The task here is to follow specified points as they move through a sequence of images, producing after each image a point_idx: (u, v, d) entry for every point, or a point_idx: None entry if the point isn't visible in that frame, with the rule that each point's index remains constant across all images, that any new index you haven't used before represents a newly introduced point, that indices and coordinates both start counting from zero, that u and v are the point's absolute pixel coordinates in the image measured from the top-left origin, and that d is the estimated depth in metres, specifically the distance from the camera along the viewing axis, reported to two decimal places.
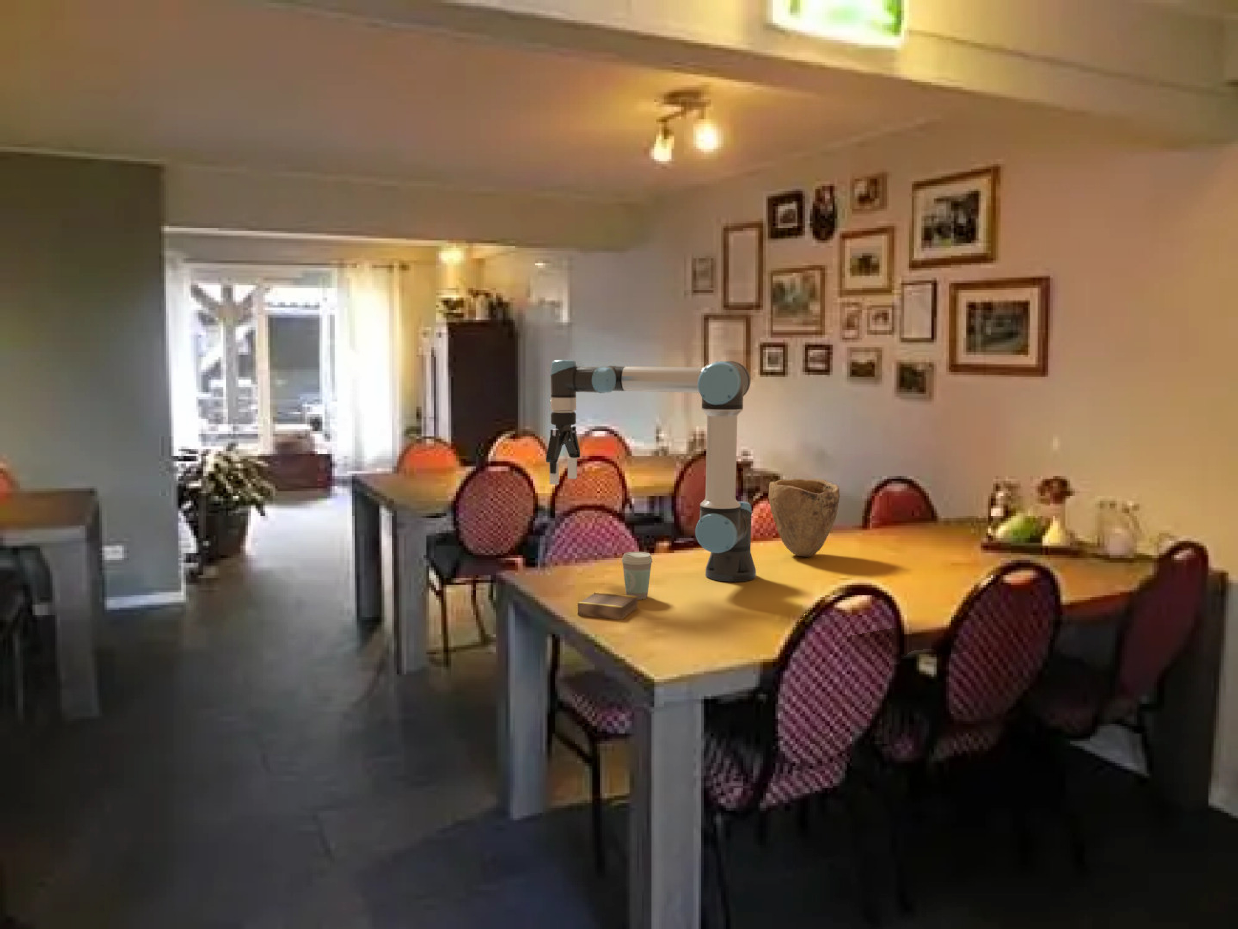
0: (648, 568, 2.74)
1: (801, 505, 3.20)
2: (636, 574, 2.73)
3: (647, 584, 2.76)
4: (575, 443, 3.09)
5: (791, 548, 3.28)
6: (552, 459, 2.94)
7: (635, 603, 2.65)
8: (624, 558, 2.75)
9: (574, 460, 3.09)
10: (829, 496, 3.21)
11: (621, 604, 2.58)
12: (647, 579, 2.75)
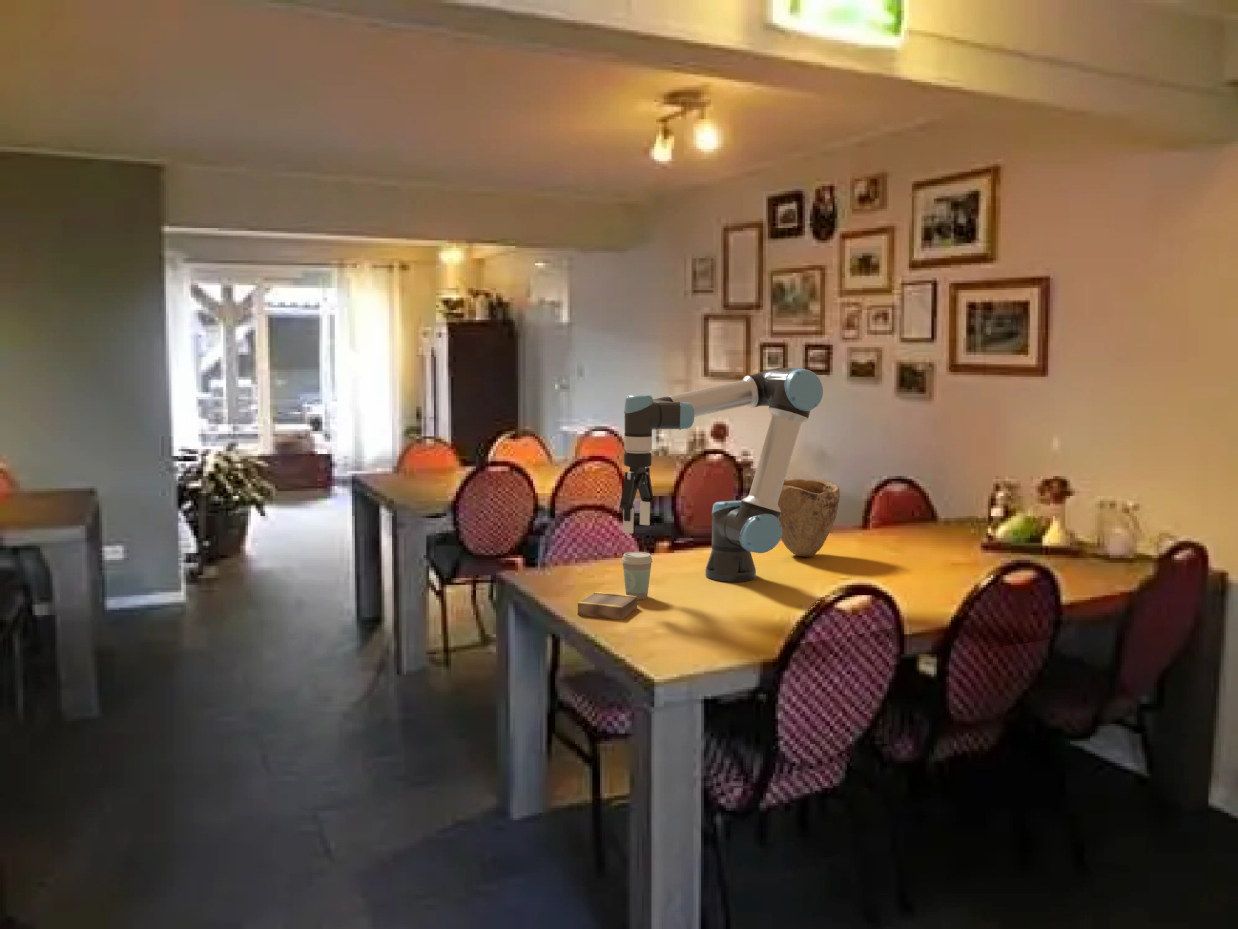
0: (648, 568, 2.74)
1: (801, 505, 3.20)
2: (636, 574, 2.73)
3: (647, 584, 2.76)
4: (648, 486, 2.81)
5: (791, 548, 3.28)
6: (627, 506, 2.65)
7: (635, 603, 2.65)
8: (624, 558, 2.75)
9: (647, 504, 2.80)
10: (829, 496, 3.21)
11: (621, 604, 2.58)
12: (647, 579, 2.75)
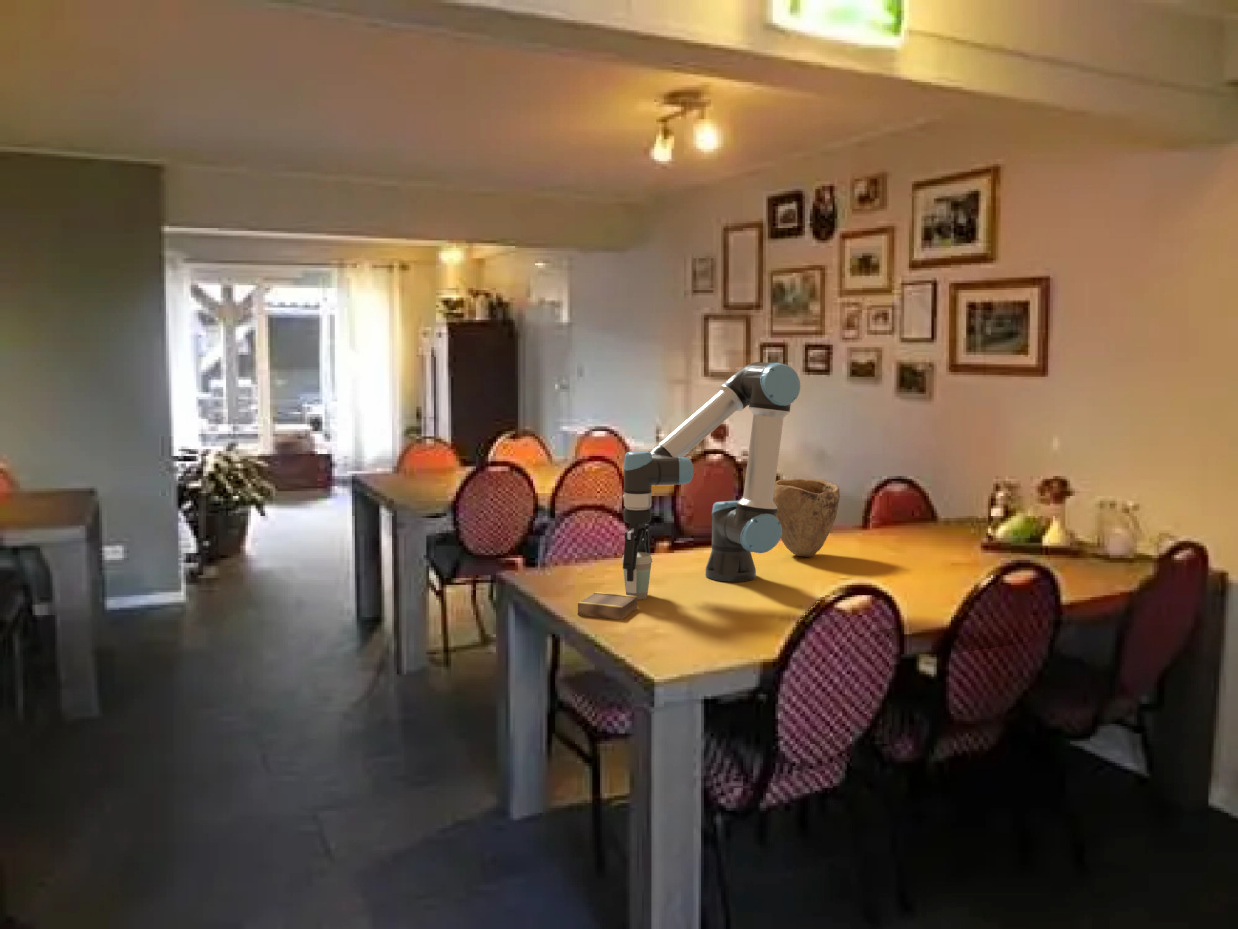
0: (648, 568, 2.74)
1: (801, 505, 3.20)
2: (636, 574, 2.73)
3: (647, 584, 2.76)
4: (647, 544, 2.81)
5: (791, 548, 3.28)
6: (630, 567, 2.69)
7: (635, 603, 2.65)
8: None
9: None
10: (829, 496, 3.21)
11: (621, 604, 2.58)
12: (647, 579, 2.75)
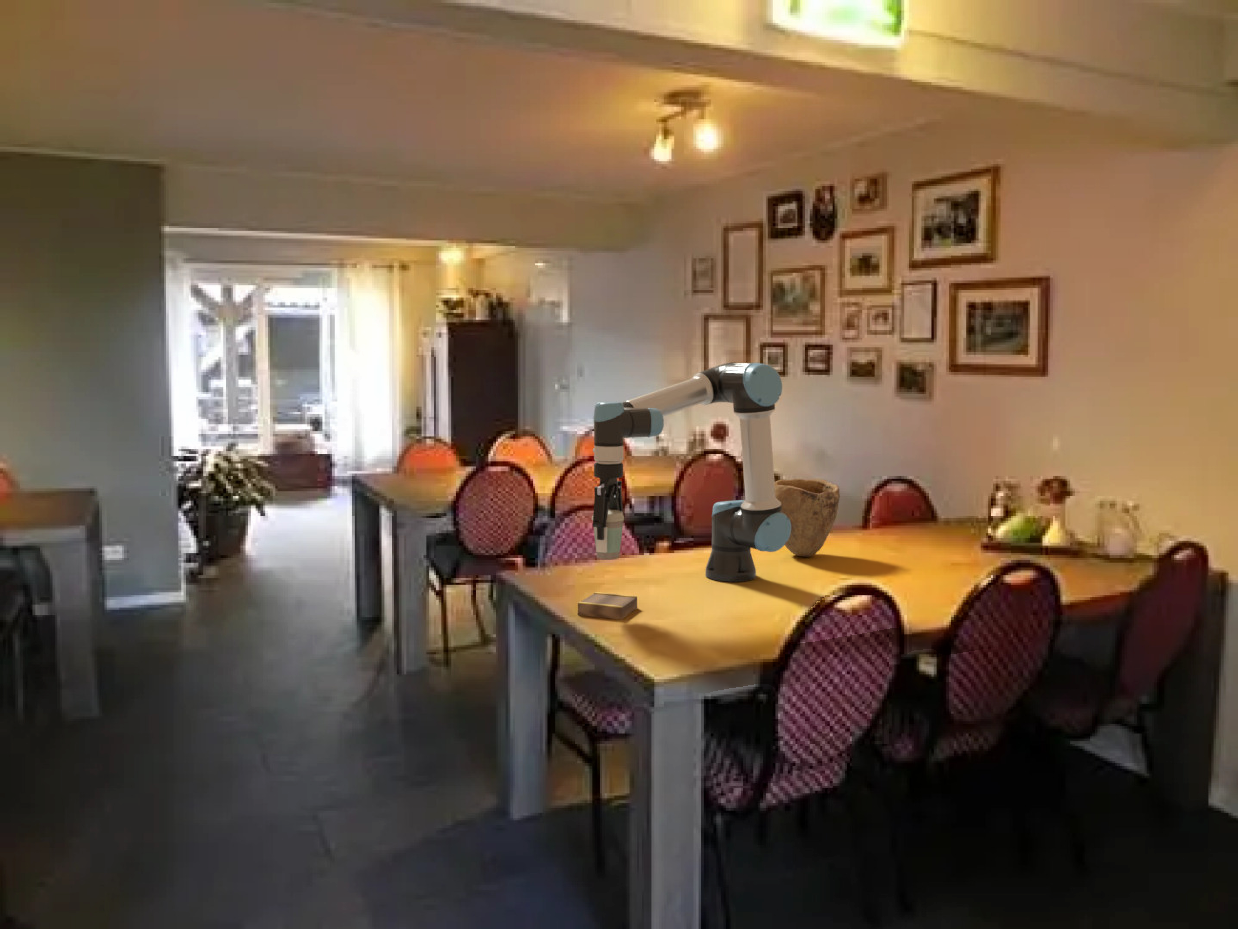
0: (620, 526, 2.58)
1: (801, 505, 3.20)
2: (607, 532, 2.56)
3: (619, 543, 2.59)
4: (619, 502, 2.64)
5: (791, 548, 3.28)
6: (600, 524, 2.52)
7: (635, 603, 2.65)
8: None
9: None
10: (829, 496, 3.21)
11: (621, 604, 2.58)
12: (618, 537, 2.58)
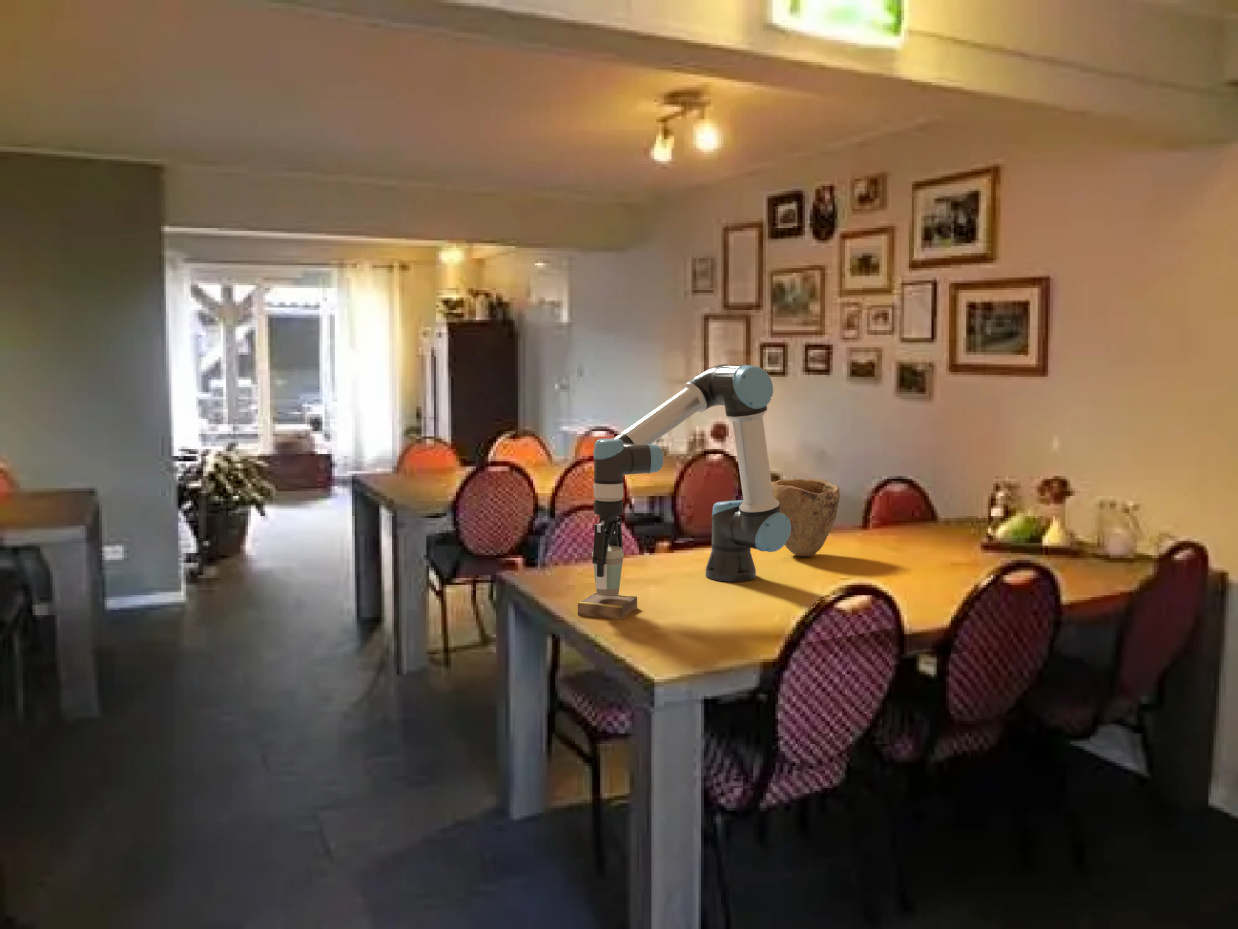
0: (619, 563, 2.59)
1: (801, 505, 3.20)
2: None
3: (618, 580, 2.60)
4: (619, 538, 2.66)
5: (791, 548, 3.28)
6: (600, 561, 2.53)
7: (635, 603, 2.65)
8: None
9: None
10: (829, 496, 3.21)
11: (621, 604, 2.58)
12: (618, 574, 2.59)
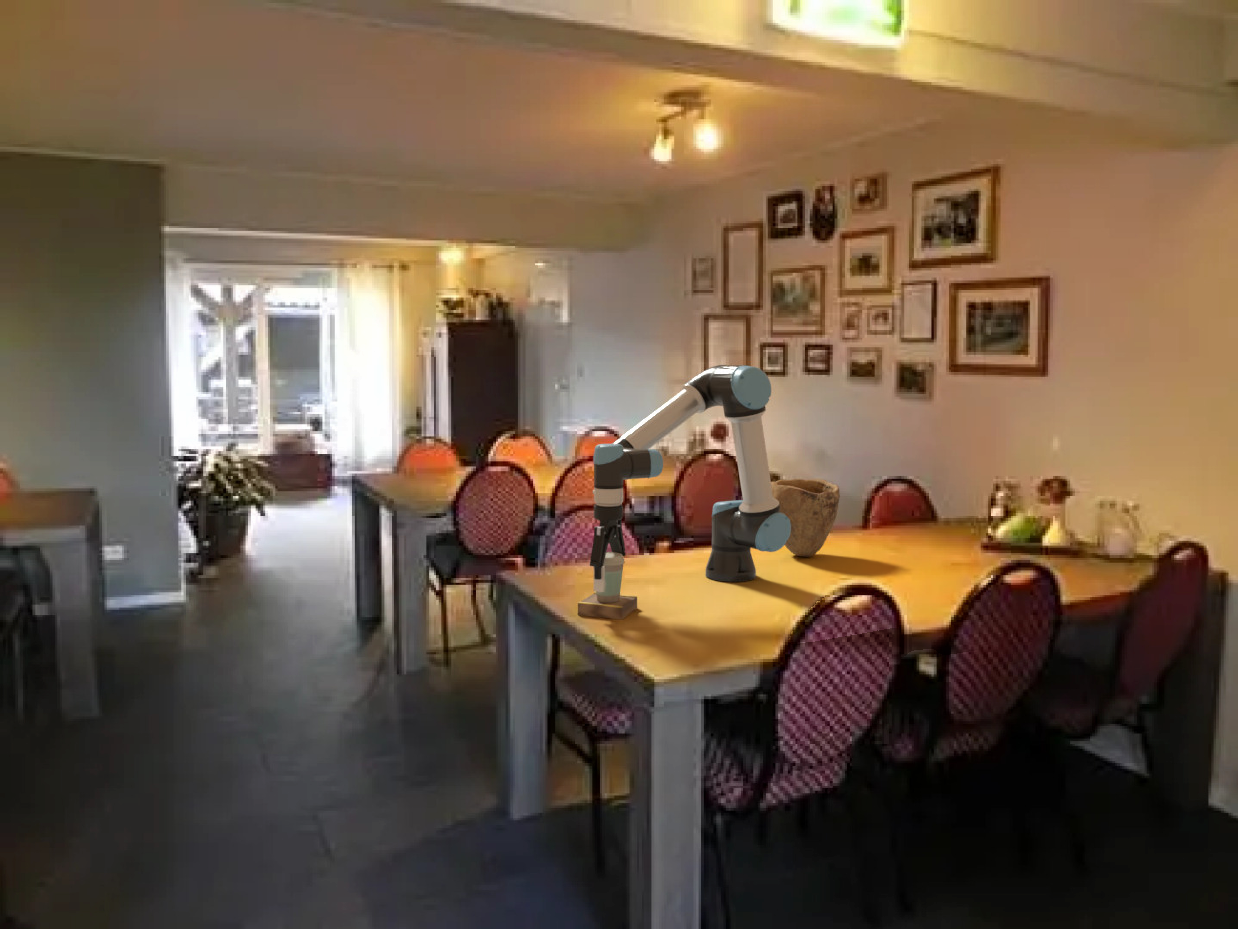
0: (620, 569, 2.59)
1: (801, 505, 3.20)
2: (607, 575, 2.58)
3: (619, 586, 2.60)
4: (620, 539, 2.67)
5: (791, 548, 3.28)
6: (597, 564, 2.52)
7: (635, 603, 2.65)
8: None
9: None
10: (829, 496, 3.21)
11: (621, 604, 2.58)
12: (618, 581, 2.59)
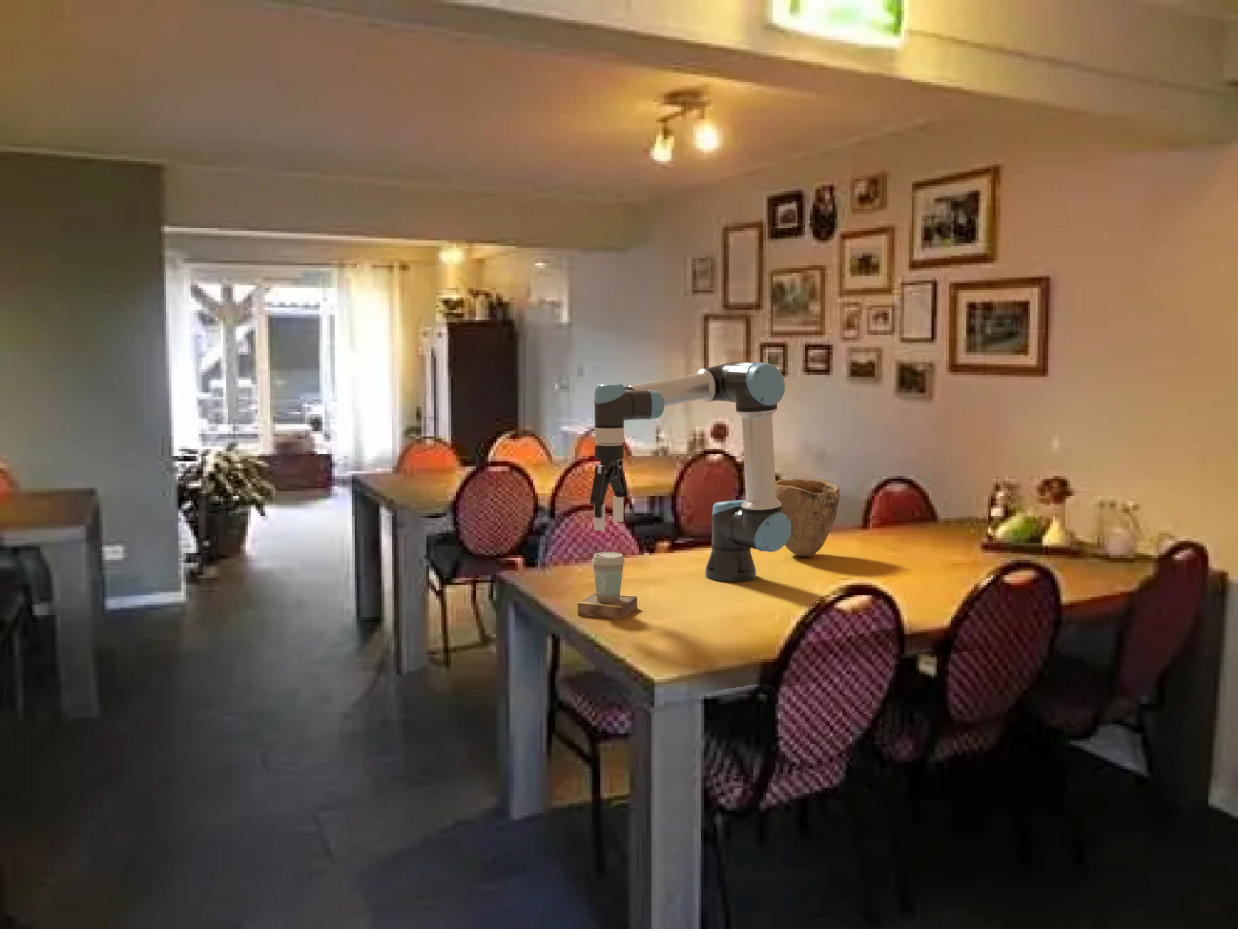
0: (620, 569, 2.59)
1: (801, 505, 3.20)
2: (607, 575, 2.58)
3: (619, 586, 2.60)
4: (621, 480, 2.65)
5: (791, 548, 3.28)
6: (598, 501, 2.49)
7: (635, 603, 2.65)
8: (594, 559, 2.59)
9: (620, 500, 2.65)
10: (829, 496, 3.21)
11: (621, 604, 2.58)
12: (618, 581, 2.59)
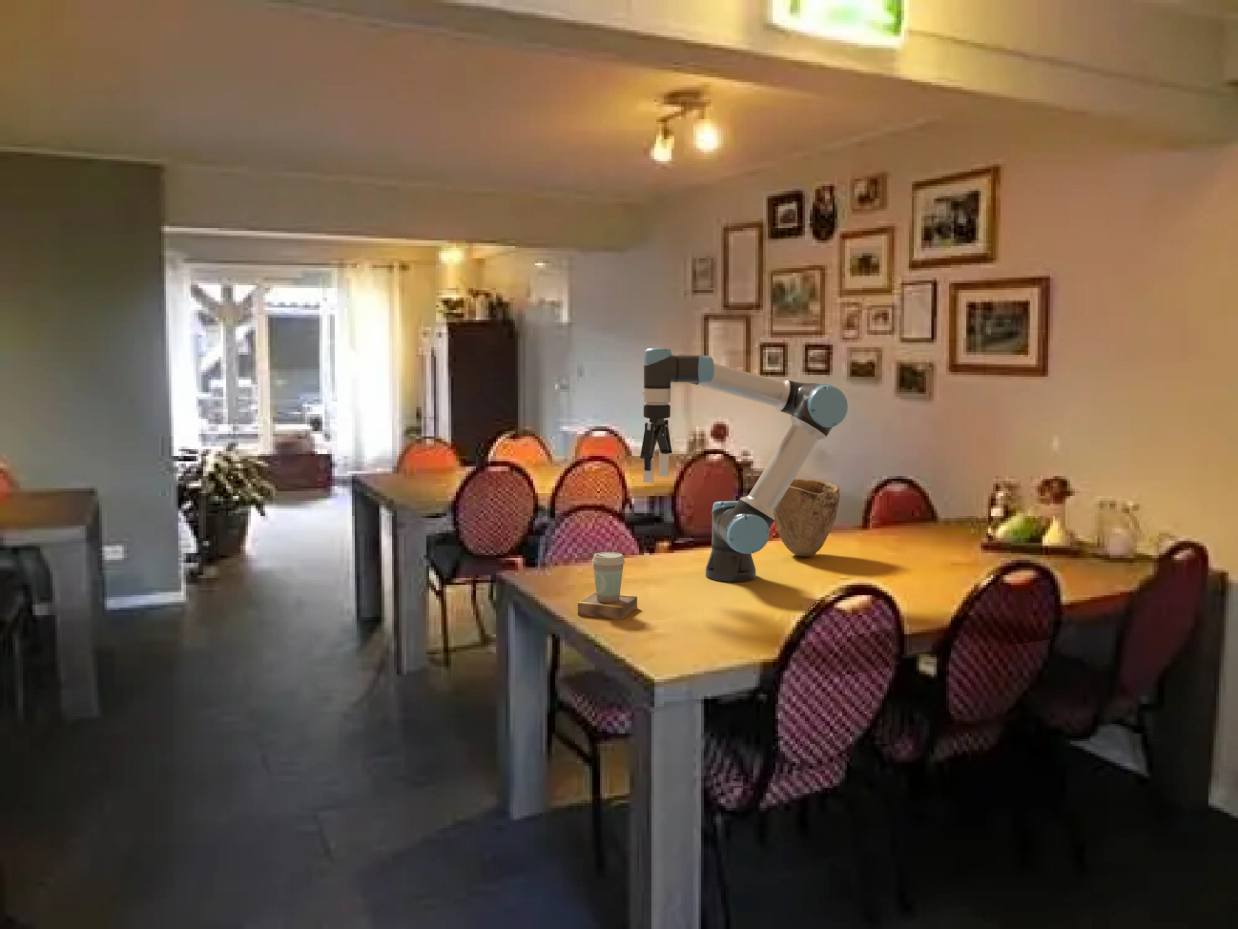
0: (620, 569, 2.59)
1: (801, 505, 3.20)
2: (607, 575, 2.58)
3: (619, 586, 2.60)
4: (667, 438, 2.88)
5: (791, 548, 3.28)
6: (648, 455, 2.72)
7: (635, 603, 2.65)
8: (594, 559, 2.59)
9: (666, 456, 2.87)
10: (829, 496, 3.21)
11: (621, 604, 2.58)
12: (618, 581, 2.59)
